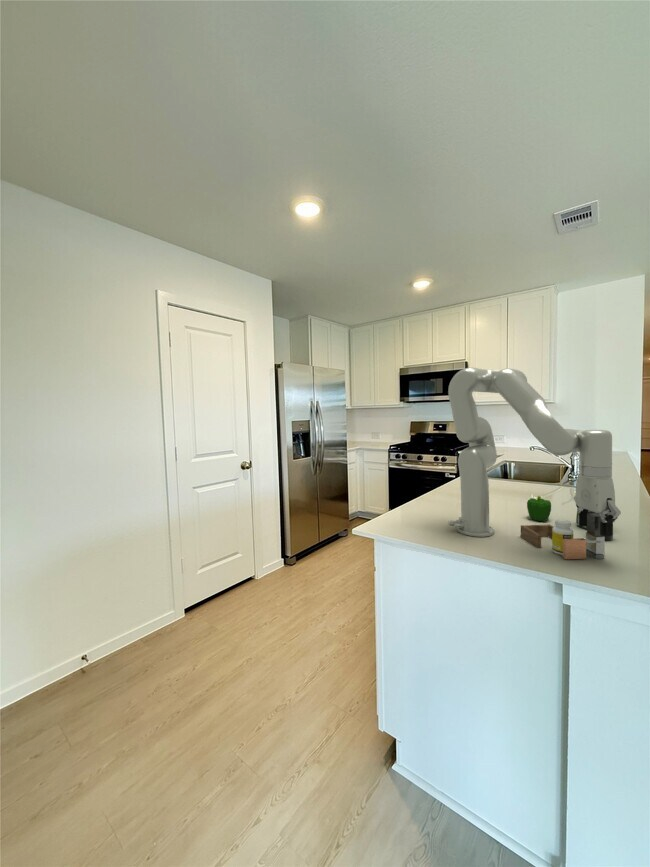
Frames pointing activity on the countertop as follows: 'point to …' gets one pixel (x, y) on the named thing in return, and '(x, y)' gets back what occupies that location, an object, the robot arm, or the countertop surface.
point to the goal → (536, 533)
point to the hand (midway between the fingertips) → (595, 530)
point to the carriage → (586, 540)
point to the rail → (596, 556)
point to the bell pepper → (539, 508)
